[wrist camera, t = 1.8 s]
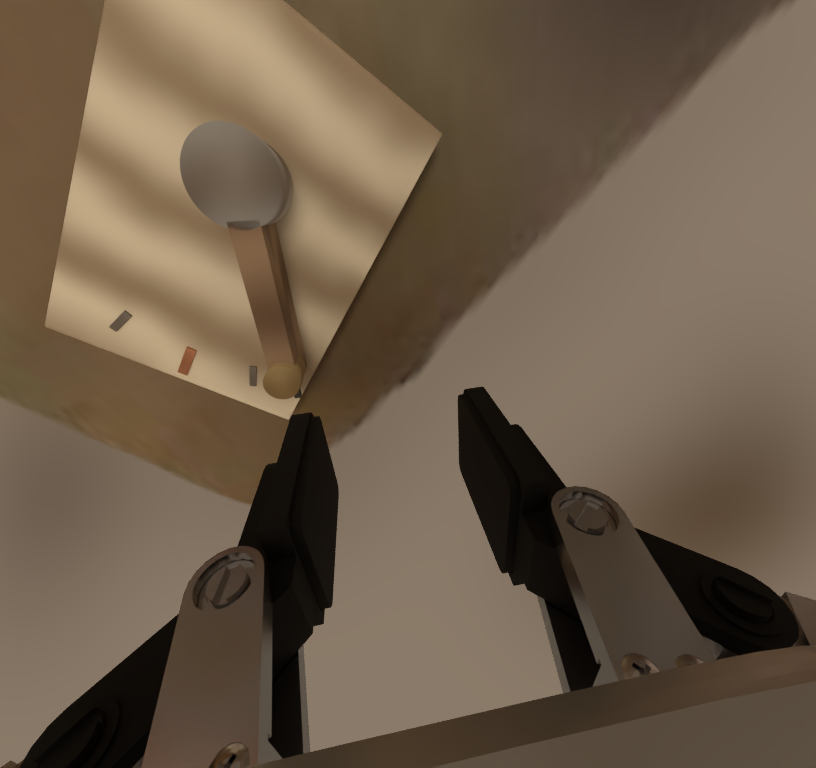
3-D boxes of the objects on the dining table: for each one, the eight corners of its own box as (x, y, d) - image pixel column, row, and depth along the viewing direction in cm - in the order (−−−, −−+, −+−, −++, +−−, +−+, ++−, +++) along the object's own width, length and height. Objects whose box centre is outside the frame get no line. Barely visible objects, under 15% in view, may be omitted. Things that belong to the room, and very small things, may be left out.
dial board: (161, -81, 18) (126, -133, 15) (432, 141, 24) (443, 133, 22) (75, 314, 26) (42, 327, 24) (293, 402, 33) (288, 421, 30)
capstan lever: (197, 137, 20) (152, 118, 16) (283, 133, 20) (263, 113, 16) (270, 391, 28) (255, 424, 24) (330, 384, 29) (326, 416, 24)
